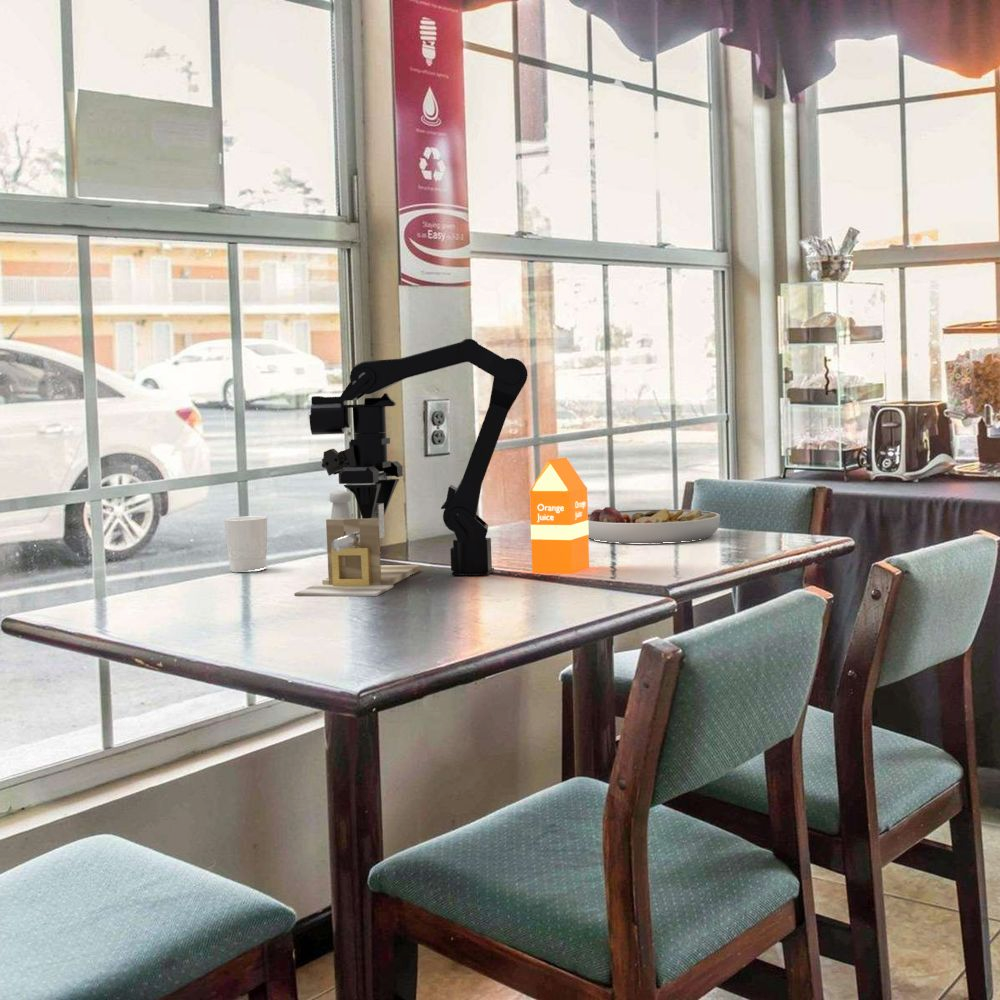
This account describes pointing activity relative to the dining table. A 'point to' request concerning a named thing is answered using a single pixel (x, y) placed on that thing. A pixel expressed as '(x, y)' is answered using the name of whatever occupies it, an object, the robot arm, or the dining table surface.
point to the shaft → (355, 537)
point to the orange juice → (559, 520)
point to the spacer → (365, 567)
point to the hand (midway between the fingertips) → (373, 520)
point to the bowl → (651, 525)
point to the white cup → (246, 542)
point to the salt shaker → (340, 506)
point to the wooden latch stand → (359, 562)
